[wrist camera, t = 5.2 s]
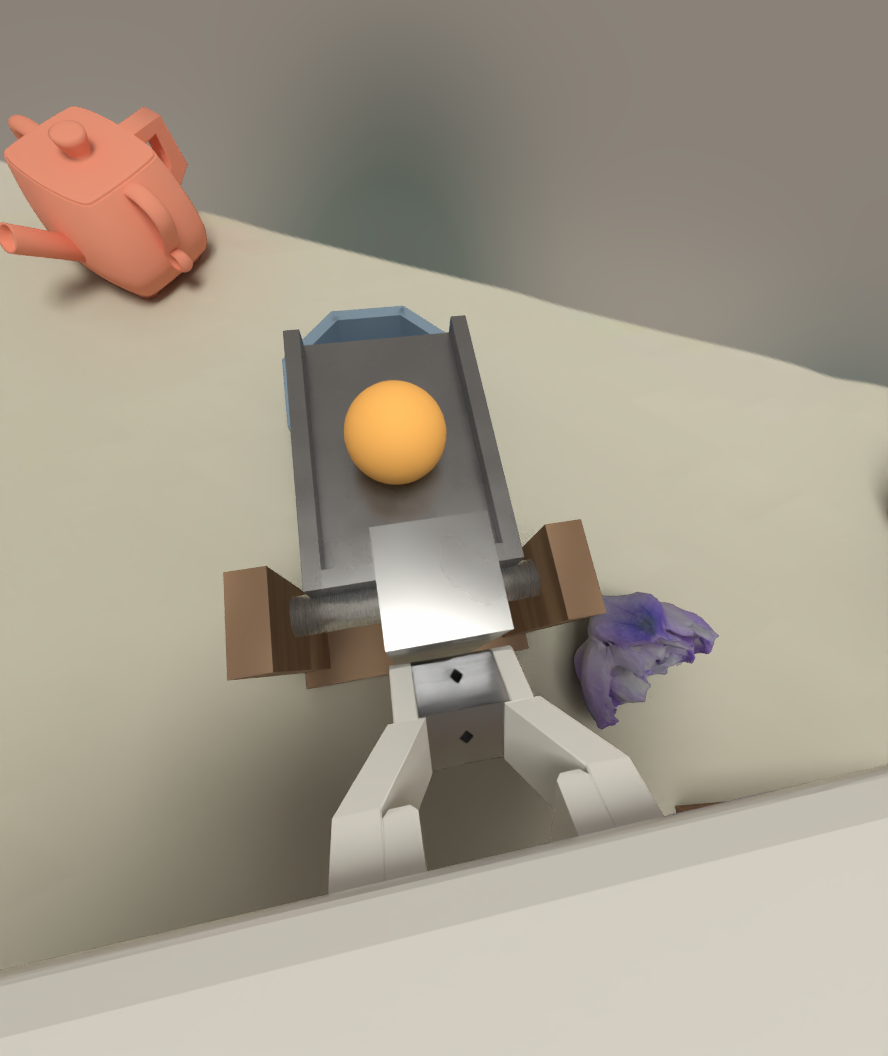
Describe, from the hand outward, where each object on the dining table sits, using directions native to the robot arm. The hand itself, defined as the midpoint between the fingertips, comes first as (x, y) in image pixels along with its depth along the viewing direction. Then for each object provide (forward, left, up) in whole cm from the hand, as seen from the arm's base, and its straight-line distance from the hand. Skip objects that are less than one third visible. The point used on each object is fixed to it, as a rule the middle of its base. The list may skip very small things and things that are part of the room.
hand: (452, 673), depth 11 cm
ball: (0, +9, -4) cm, 10 cm away
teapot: (-19, +37, -20) cm, 46 cm away
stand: (0, +3, -20) cm, 20 cm away
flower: (+12, -1, -20) cm, 24 cm away
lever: (0, +8, -8) cm, 11 cm away
